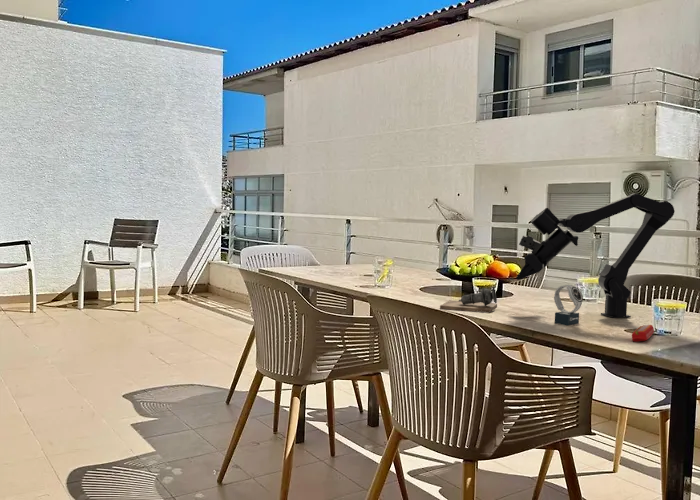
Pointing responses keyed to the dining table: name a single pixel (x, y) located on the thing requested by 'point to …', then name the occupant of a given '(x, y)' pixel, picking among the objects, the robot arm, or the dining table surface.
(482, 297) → the dark grey tall piece
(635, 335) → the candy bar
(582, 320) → the dining table surface
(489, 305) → the walnut board
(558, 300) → the watch
